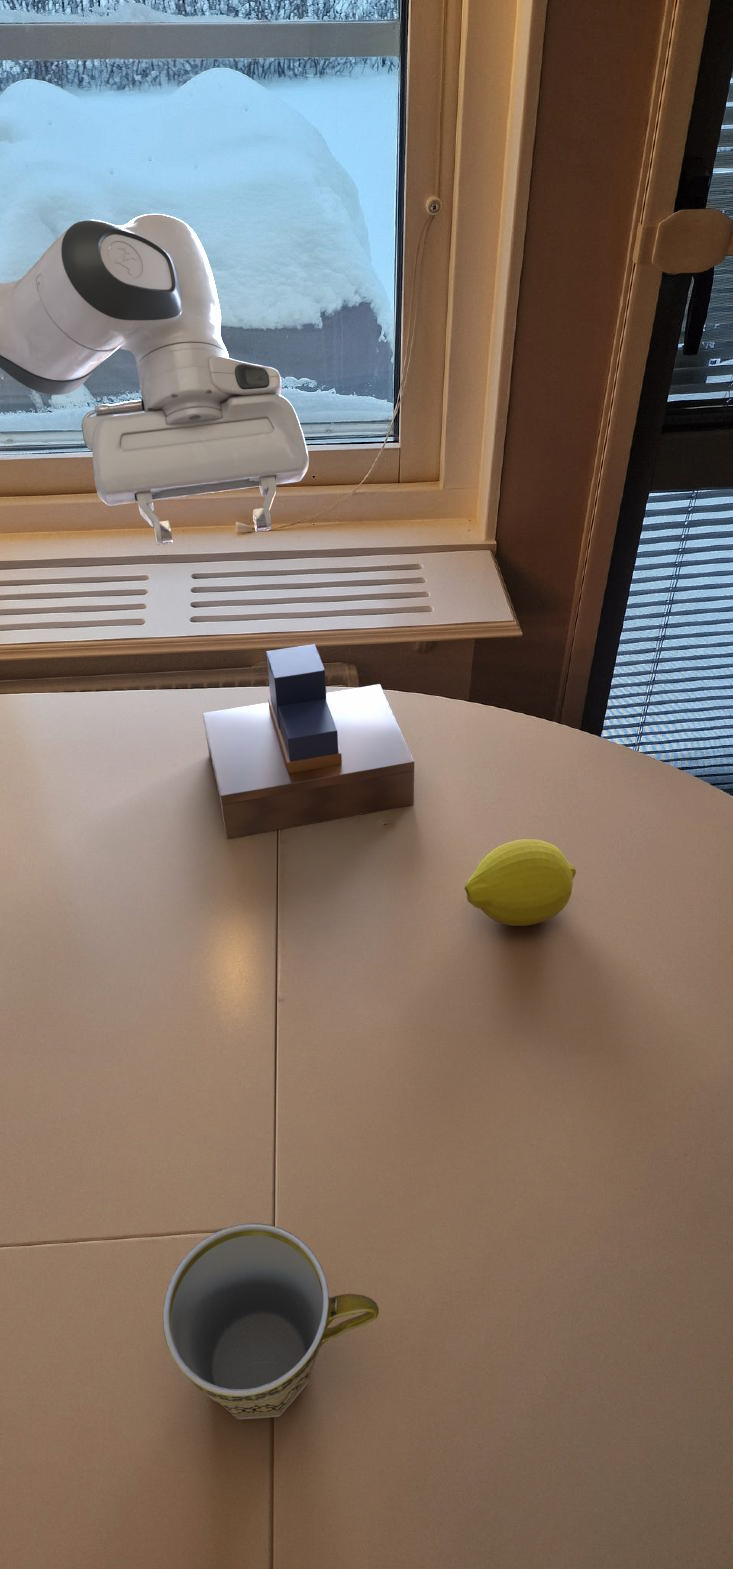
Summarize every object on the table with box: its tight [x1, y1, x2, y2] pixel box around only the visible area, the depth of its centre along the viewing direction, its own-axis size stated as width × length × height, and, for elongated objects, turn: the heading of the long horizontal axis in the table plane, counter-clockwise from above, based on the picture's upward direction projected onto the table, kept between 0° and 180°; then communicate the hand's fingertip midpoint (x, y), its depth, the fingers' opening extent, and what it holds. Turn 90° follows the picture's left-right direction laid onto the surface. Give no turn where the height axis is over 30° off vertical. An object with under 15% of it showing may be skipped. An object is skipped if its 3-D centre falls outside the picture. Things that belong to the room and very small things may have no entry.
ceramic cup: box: [162, 1222, 380, 1420], centre depth 66 cm, size 13×10×10 cm
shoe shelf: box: [202, 683, 415, 840], centre depth 111 cm, size 20×14×6 cm
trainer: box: [265, 643, 342, 774], centre depth 107 cm, size 11×6×8 cm, turn 14°
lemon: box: [463, 838, 577, 927], centre depth 96 cm, size 11×8×8 cm
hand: (214, 535), depth 98 cm, fingers open, 8 cm apart
